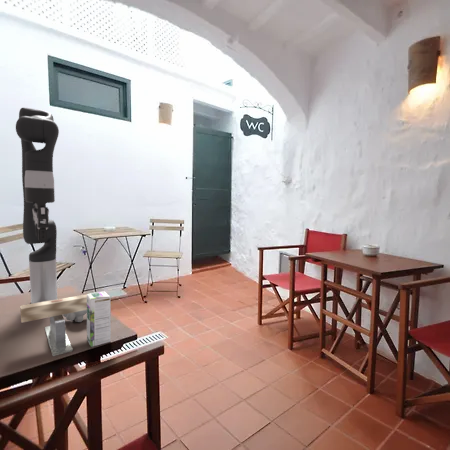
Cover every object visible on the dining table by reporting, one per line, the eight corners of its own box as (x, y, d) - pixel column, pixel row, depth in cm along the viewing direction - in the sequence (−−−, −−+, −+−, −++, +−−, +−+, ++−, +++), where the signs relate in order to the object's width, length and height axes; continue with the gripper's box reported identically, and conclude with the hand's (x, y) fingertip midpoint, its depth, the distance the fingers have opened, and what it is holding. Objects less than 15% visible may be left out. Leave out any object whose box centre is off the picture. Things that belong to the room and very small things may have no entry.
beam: (88, 306, 95) (87, 293, 95) (90, 309, 93) (90, 296, 92) (20, 319, 84) (20, 305, 84) (21, 322, 82) (20, 308, 82)
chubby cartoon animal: (99, 326, 104) (108, 303, 105) (64, 322, 97) (74, 297, 98) (94, 319, 110) (102, 297, 111) (60, 314, 102) (69, 291, 103)
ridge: (44, 328, 96) (43, 305, 95) (61, 324, 99) (61, 301, 98) (52, 356, 80) (51, 328, 79) (72, 350, 83) (72, 323, 82)
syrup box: (86, 339, 89) (85, 293, 88) (106, 334, 93) (105, 290, 91) (90, 347, 85) (89, 299, 83) (111, 341, 88) (111, 295, 87)
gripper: (57, 187, 85) (58, 242, 87) (51, 186, 96) (52, 235, 98) (26, 186, 80) (28, 244, 82) (23, 185, 92) (25, 236, 94)
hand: (41, 239), depth 90 cm, fingers open, 8 cm apart
